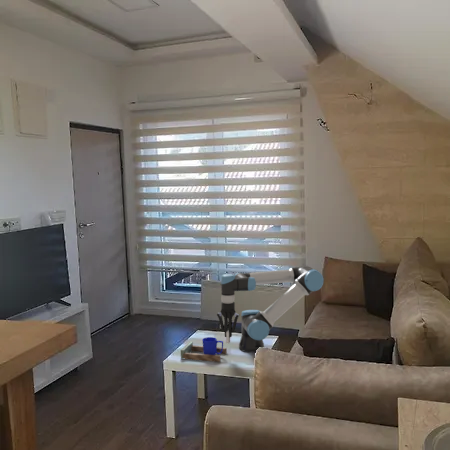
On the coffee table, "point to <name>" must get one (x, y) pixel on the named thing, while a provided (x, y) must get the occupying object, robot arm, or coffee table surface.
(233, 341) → the coffee table surface
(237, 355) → the coffee table surface
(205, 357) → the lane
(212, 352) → the mug
